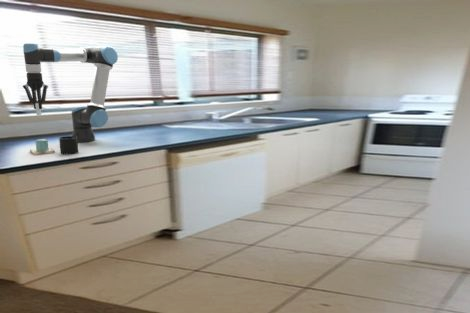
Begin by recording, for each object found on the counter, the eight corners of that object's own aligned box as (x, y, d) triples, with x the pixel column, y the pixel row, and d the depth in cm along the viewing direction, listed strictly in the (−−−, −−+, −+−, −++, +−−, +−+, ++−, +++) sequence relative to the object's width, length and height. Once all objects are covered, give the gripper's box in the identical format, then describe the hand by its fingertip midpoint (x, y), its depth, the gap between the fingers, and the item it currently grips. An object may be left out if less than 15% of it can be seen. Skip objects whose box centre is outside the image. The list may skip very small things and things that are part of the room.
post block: (51, 149, 217) (50, 140, 216) (55, 152, 209) (54, 143, 207) (30, 151, 210) (29, 142, 209) (33, 155, 202) (32, 145, 201)
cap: (41, 148, 212) (40, 138, 211) (50, 149, 212) (49, 139, 210) (34, 151, 207) (33, 140, 205) (44, 151, 206) (42, 141, 205)
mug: (70, 149, 217) (69, 135, 215) (81, 152, 210) (80, 137, 208) (55, 152, 210) (53, 137, 208) (65, 155, 203) (64, 139, 200)
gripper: (48, 72, 204) (53, 114, 209) (24, 72, 202) (29, 114, 208) (43, 72, 197) (48, 115, 202) (18, 72, 195) (24, 115, 200)
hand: (39, 114), depth 205 cm, fingers closed
